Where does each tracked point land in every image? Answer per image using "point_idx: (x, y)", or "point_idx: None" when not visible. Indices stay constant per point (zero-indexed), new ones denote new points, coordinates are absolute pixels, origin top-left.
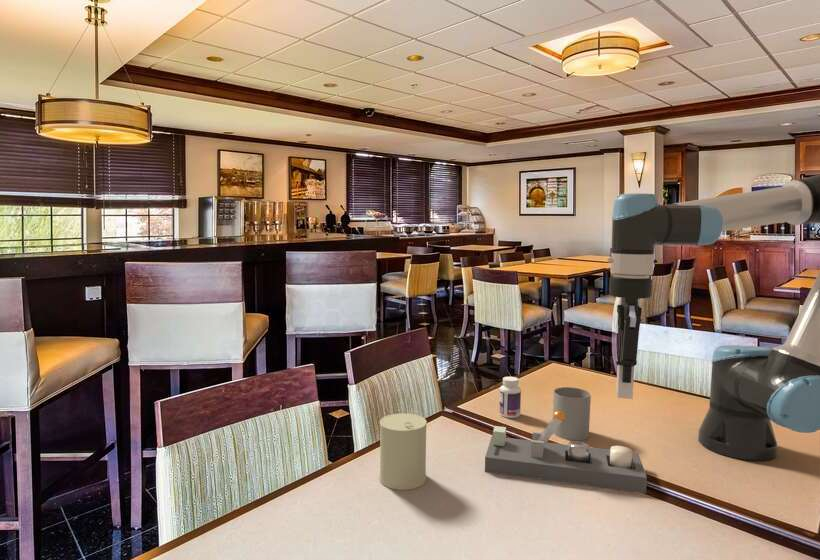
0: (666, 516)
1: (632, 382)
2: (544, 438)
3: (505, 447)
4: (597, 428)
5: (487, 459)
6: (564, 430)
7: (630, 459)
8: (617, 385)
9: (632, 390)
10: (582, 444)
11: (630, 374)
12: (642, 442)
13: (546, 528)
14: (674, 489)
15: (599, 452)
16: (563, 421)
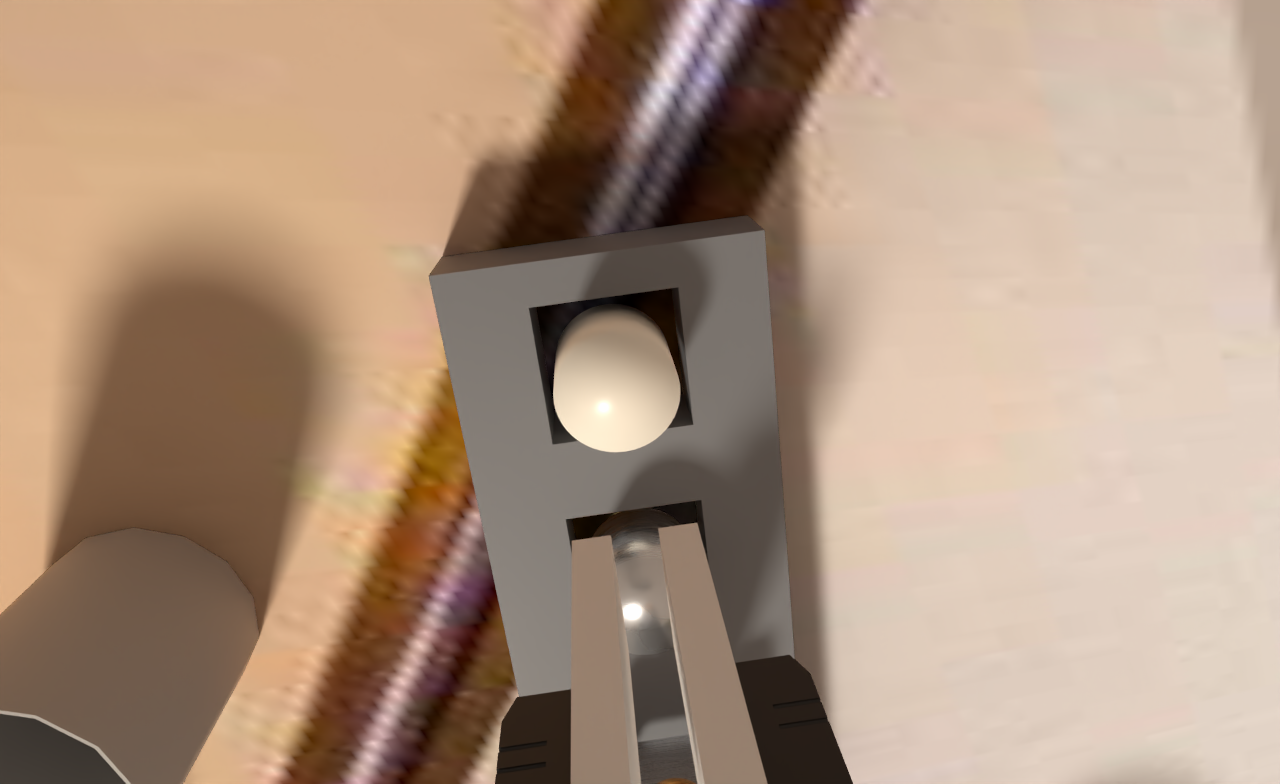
0: (951, 125)
1: (726, 634)
2: None
3: None
4: None
5: None
6: (240, 666)
7: (644, 329)
8: (634, 715)
9: (707, 574)
10: (628, 591)
11: (829, 738)
12: (22, 228)
13: (1163, 564)
14: (642, 65)
15: (530, 479)
16: (683, 778)
